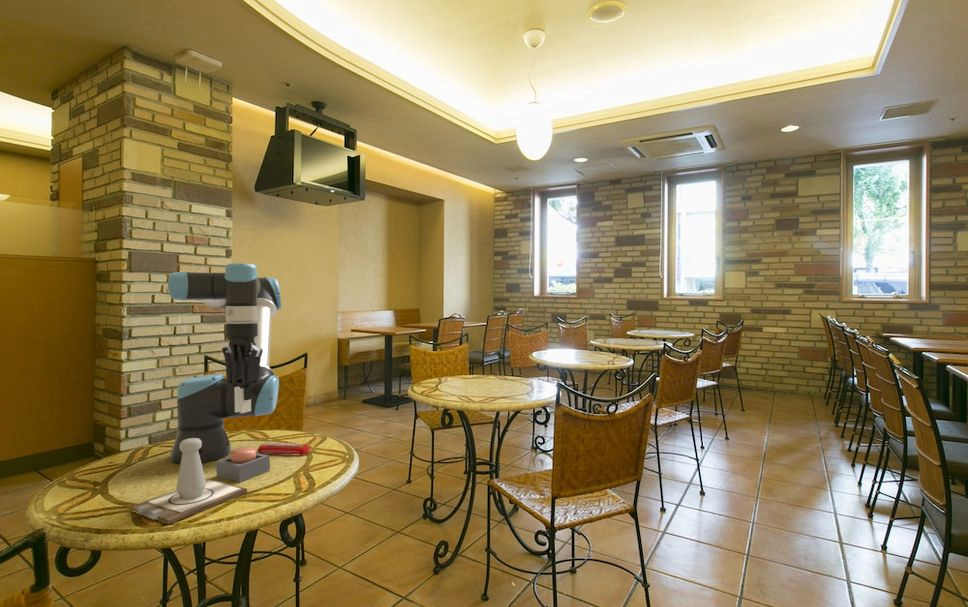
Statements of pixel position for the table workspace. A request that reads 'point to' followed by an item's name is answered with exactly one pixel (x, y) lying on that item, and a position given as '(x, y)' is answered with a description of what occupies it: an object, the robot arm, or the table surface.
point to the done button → (243, 455)
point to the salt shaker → (190, 470)
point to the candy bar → (283, 448)
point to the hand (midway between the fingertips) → (242, 411)
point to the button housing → (243, 468)
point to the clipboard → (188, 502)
